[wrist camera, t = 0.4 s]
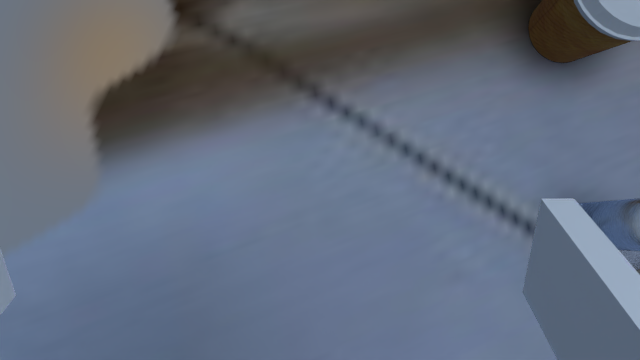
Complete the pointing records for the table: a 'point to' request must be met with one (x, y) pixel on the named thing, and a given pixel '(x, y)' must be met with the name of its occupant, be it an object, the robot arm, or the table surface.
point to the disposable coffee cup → (582, 27)
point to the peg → (617, 221)
